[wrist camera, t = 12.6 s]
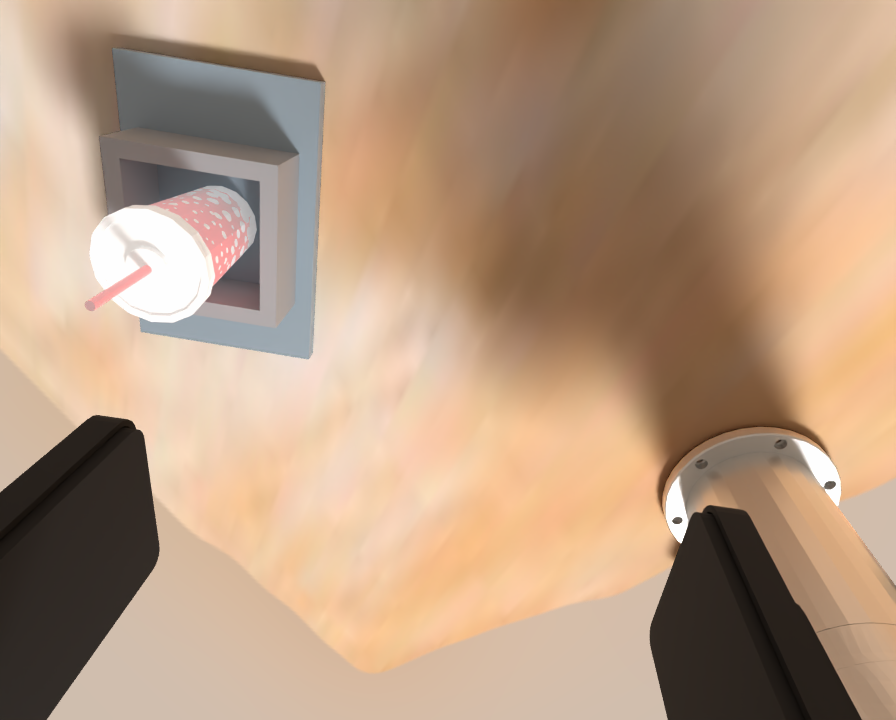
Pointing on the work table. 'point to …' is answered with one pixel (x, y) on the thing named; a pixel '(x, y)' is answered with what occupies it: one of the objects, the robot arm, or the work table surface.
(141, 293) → the beverage cup
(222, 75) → the grey cup holder
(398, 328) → the work table surface
